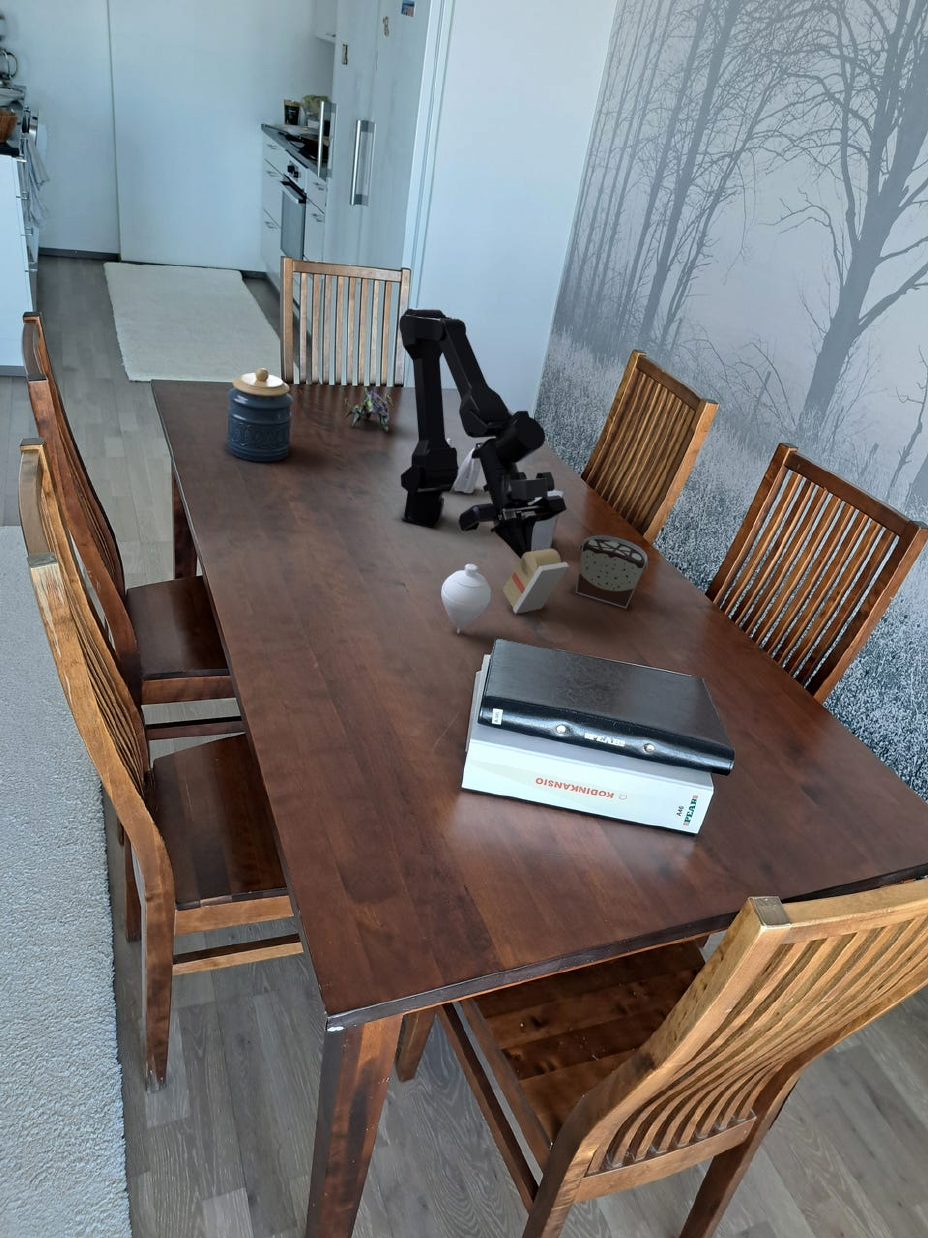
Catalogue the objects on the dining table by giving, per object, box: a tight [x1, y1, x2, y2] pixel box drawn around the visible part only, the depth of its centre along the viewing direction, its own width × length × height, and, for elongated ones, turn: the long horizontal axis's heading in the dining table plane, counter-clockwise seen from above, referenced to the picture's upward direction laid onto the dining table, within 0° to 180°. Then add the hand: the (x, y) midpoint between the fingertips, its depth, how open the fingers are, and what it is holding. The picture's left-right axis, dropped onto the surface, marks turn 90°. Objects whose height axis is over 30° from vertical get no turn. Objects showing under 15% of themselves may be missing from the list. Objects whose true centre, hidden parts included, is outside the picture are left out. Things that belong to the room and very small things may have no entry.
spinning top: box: [440, 563, 492, 634], centre depth 139 cm, size 8×8×12 cm
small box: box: [529, 489, 565, 552], centre depth 171 cm, size 8×6×10 cm
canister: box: [226, 367, 294, 463], centre depth 186 cm, size 13×13×18 cm
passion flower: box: [343, 387, 396, 432], centre depth 212 cm, size 11×11×12 cm
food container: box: [574, 535, 649, 610], centre depth 159 cm, size 12×6×10 cm, turn 71°
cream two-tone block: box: [502, 548, 570, 615], centre depth 149 cm, size 6×6×11 cm
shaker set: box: [446, 438, 482, 494], centre depth 187 cm, size 12×4×11 cm, turn 104°
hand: (527, 561), depth 150 cm, fingers closed
